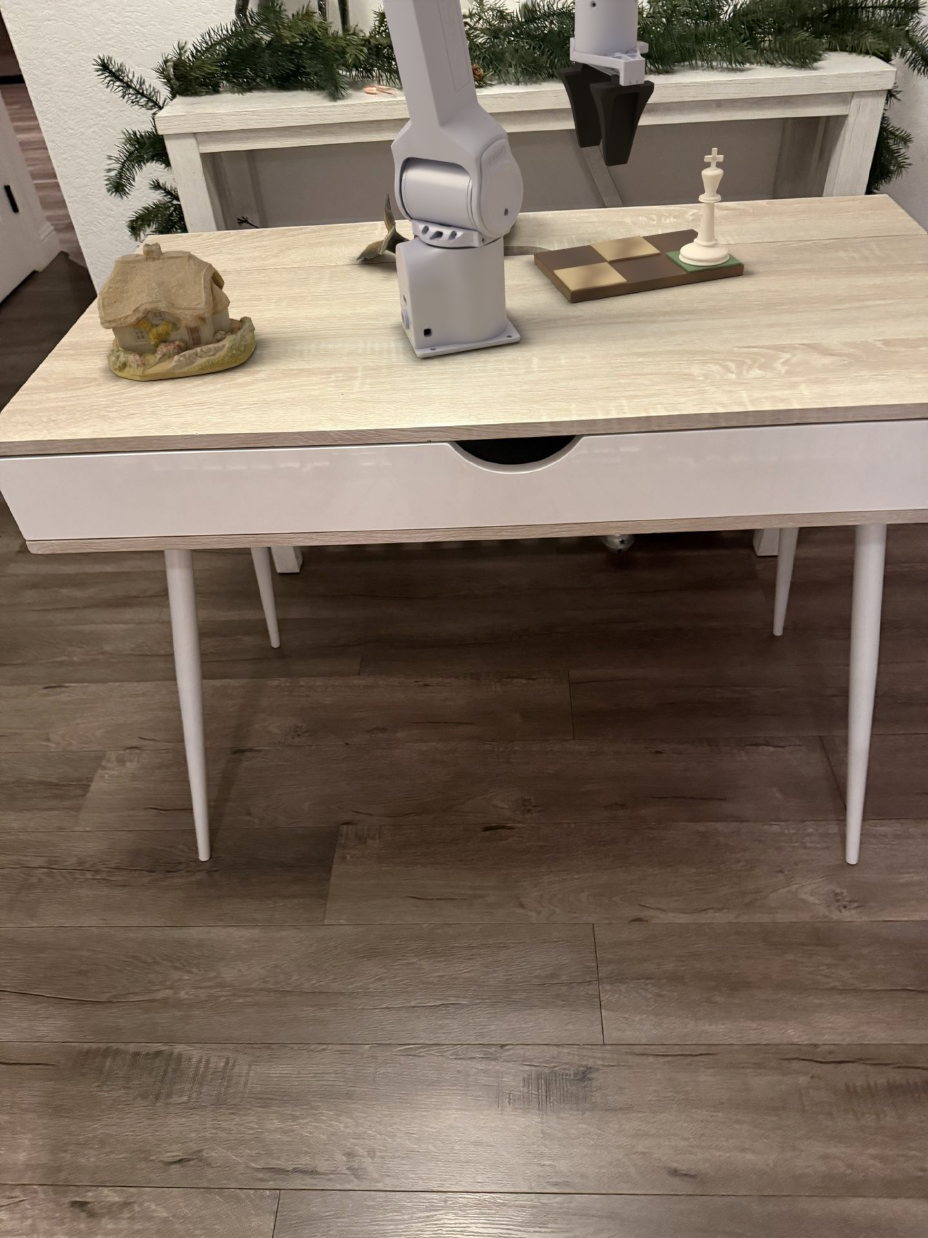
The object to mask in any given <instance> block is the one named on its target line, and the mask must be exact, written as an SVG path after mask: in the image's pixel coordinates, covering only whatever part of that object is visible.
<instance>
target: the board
mask: <svg viewBox="0 0 928 1238" xmlns="http://www.w3.org/2000/svg"><path fill="white" fill-rule="evenodd" d="M698 232H699V231H697V230H695V229H693V228H688V229H682V230H675V231H670V232H662V233H657V234H650V235H644V236H641V235H635V236H627V237H621V238H613V239H608V240H602V241H595V242H590V243H589V244H586V245H585V244H584V245H579V246H573V247H565V248H560V249H553V250H547V251H540V252H535V253H533V263H534V264H535V266H537V268H538V269H539V270H540V271H541V272H542V273H543V274H544V276H546V277H547V279H548V280H549V281H550V282H551V283H552V284H553V285H554V286H555V287H556V289H557V290H558V291H559V292H560V293H561V294H562V295H563V296H564V297H565V298H566V299H567V300H568V302H569V303H578V302H579V303H580V302H585V301H591V300H597V299H602V298H608V297H614V296H620V295H628V294H633V293H638V292H646V291H651V290H657V289H663V288H669V287H675V286H683V285H688V284H693V283H700V282H706V281H713V280H718V279H724V278H730V277H731V278H732V277H736V276H742V275H744V270H745V264H744V263H743V262H742V261H741V260H739V259H738V258H736V257H735V256H734V255H732V254H731V253H729V259H728V260H727V261H726V262H724V263H721V264H718V265H712V266H696V265H690V264H687V263H684V262H682V261H681V260H680V259H679V255H680V250H681V248H682V247H683V246H685V245H687V244H690V243H693V242H694V239H696V238H697V236H698Z"/></svg>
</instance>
